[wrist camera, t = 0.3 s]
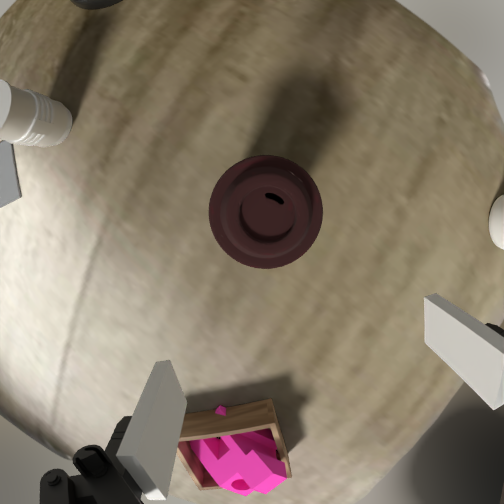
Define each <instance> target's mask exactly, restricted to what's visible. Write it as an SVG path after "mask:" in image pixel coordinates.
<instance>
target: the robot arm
mask: <svg viewBox="0 0 504 504" xmlns="http://www.w3.org/2000/svg"><path fill="white" fill-rule="evenodd" d="M71 1H72V2H73V3H74V4H75V5H76V6H78V7H80V8H83V9H100V8H105V7H108V6H111V5H114V4H116V3H118V2H121V1H123V0H71ZM424 312H425V343H426V344H427V345H428V346H429V347H430V348H431V349H432V350H433V351H434V352H435V353H436V354H437V355H438V356H439V357H440V358H441V359H442V360H443V361H445V362H446V363H447V364H448V365H449V366H450V367H451V368H452V369H453V370H454V371H455V372H456V373H457V374H458V375H459V376H460V377H461V378H462V379H463V380H464V381H465V382H466V383H467V384H468V385H469V386H470V387H471V388H472V389H473V390H474V391H475V392H476V393H477V394H478V395H479V396H480V397H481V398H482V399H483V400H484V401H485V402H486V403H487V404H488V405H489V406H490V407H491V408H492V409H493V410H495V409H497V408H498V407H500V406H501V405H503V404H504V330H503V329H502V328H500V327H499V326H497V325H493V324H490V323H487V324H483V323H482V322H480V321H479V320H477V319H476V318H474V317H473V316H471V315H469V314H468V313H466V312H465V311H463V310H462V309H460V308H459V307H457V306H456V305H454V304H452V303H451V302H449V301H448V300H446V299H445V298H443V297H441V296H440V295H438V294H437V293H435V294H432V295H429V296H426V297H424ZM186 406H187V400H186V398H185V396H184V393H183V391H182V389H181V386H180V384H179V381H178V379H177V376H176V374H175V371H174V369H173V366H172V364H171V361H170V360H166V361H159V362H156V363H155V365H154V367H153V370H152V372H151V374H150V376H149V379H148V381H147V383H146V385H145V388H144V390H143V392H142V395H141V397H140V399H139V402H138V404H137V406H136V409H135V411H134V413H133V416H124V417H123V418H122V419H121V421H120V422H119V423H118V424H117V425H116V428H115V430H114V433H113V434H112V436H111V440H110V441H109V443H108V445H107V447H106V449H105V451H104V450H103V449H102V448H101V447H100V446H98V445H88V446H85V447H83V448H81V449H79V450H78V451H77V452H76V453H75V454H74V457H73V464H74V465H75V467H76V468H77V469H78V471H79V472H80V473H81V475H76V476H71V477H69V476H68V475H67V473H66V472H65V471H64V470H61V469H53V470H50V471H48V472H47V473H45V474H44V475H43V477H42V478H41V481H40V504H144V503H143V502H142V501H141V500H140V499H141V495H142V492H143V493H144V494H145V496H146V497H147V498H148V499H149V500H167V496H168V491H169V486H170V481H171V476H172V471H173V466H174V462H175V457H176V452H177V447H178V443H179V438H180V433H181V429H182V424H183V420H184V415H185V411H186ZM500 504H504V485H503V491H502V496H501V500H500Z"/></svg>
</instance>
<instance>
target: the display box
mask: <svg viewBox="0 0 504 504" xmlns="http://www.w3.org/2000/svg"><path fill="white" fill-rule="evenodd" d="M225 408H226V416H225V415H221V414H217V413H215V411H216V409H213V410H207V411H200V412H194V413H186V414H185V415H184V420H183V424H182V429H181V433H180V438H179V443H178V447H177V452H176V453H177V455H178V457H179V458H180V460H181V462H182V463H183V465H184V467H185V468H186V470H187V471H188V473H189V475H190V476H191V478H192V479H193V481H194V482H195V484H196V486H197V487H198V489H199V490H210V489H221V488H222V487H220V486H219V485H218V484H217V483H216V481H215V480H214V479H213V477H212V476H211V475H210V473H209V472H208V471H207V469H206V468H205V467H204V465H203V464H202V463H201V461H200V460H199V459H198V457H197V456H196V454H195V453H194V452H193V450H192V449H191V446H190V440H199V439H207V438H214V437H221V436H227V435H234V434H240V433H245V432H251V431H256V430H261V429H266V428H271V431H272V434H273V437H274V440H275V443H276V446H277V449H278V452H279V453H276V458H277V460H279V461H282V462H285V467H286V474H287V478H291V477H292V475H291V469H290V463H289V457H288V452H287V449H286V446H285V442H284V439H283V436H282V432H281V429H280V426H279V422H278V419H277V415H276V412H275V409H274V405H273V402H272V398H270V399H266V400H261V401H256V402H252V403H247V404H241V405H236V406H231V407H225Z"/></svg>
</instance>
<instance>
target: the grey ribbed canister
mask: <svg viewBox="0 0 504 504" xmlns="http://www.w3.org/2000/svg"><path fill="white" fill-rule="evenodd" d="M71 127H72V116H71V113H70V111H69V110H68V109H67V108H66V107H65V106H64V105H63V104H62V103H61V102H59V101H56V100H51V99H50V98H49V97H48V96H45V95H42V94H39V93H37V92H34V91H32V90H29V89H19V88H16V87H13V86H11V85H10V84H9V83H8V82H6V81H4V80H0V140H6V141H7V142H9V143H11V144H21V145H27V146H34V145H37V146H40V147H49V146H52V145H58V144H60V143H61V142H63V141H64V140H65V139H66V138H67V136H68V135H69V133H70V130H71Z"/></svg>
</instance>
